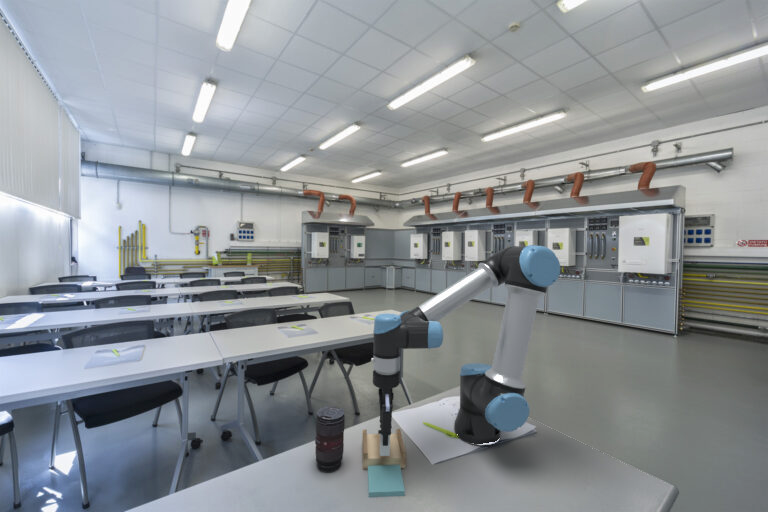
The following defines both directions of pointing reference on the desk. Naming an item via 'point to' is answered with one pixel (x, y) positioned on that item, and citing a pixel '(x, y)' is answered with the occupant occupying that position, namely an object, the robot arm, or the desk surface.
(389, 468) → the cover plate
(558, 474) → the desk surface
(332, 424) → the camera lens
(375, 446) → the wooden channel tray
